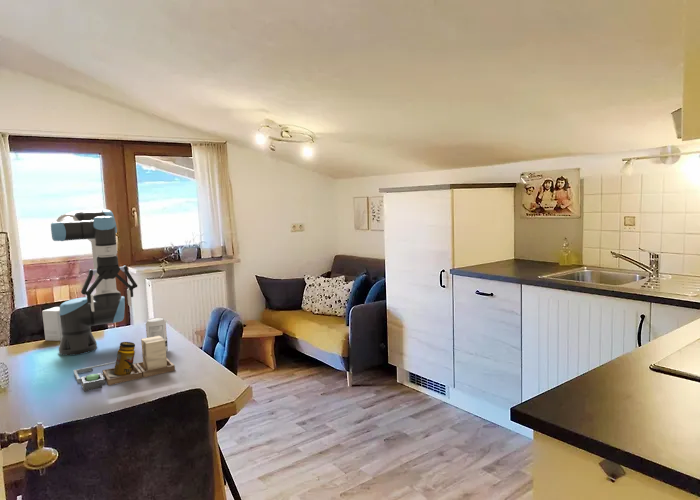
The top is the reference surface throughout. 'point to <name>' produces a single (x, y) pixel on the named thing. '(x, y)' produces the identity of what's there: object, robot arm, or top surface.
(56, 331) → the supplement box
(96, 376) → the button
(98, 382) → the button housing
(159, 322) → the supplement can
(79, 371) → the frame
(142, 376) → the brown divided tray
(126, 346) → the condiment
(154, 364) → the block
